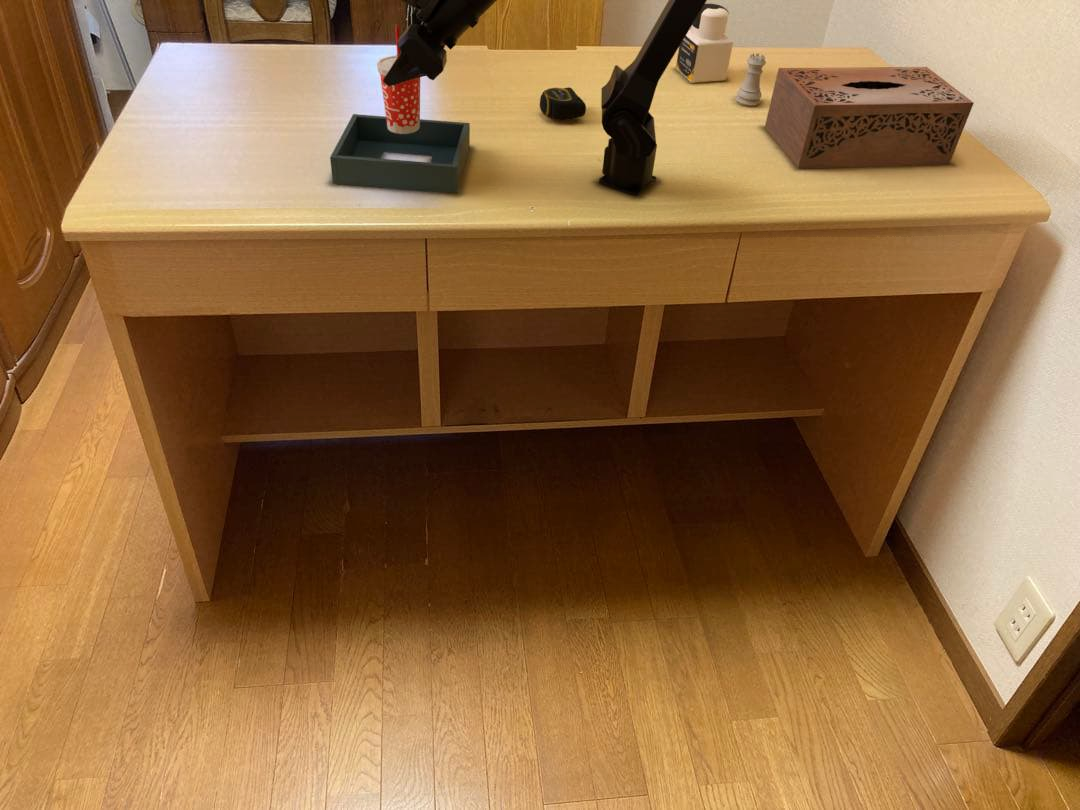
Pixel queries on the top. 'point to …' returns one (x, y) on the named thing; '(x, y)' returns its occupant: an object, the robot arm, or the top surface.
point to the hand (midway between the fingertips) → (390, 74)
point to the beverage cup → (400, 98)
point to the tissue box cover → (866, 116)
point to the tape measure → (561, 104)
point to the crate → (371, 137)
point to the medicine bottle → (706, 47)
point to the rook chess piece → (751, 82)
